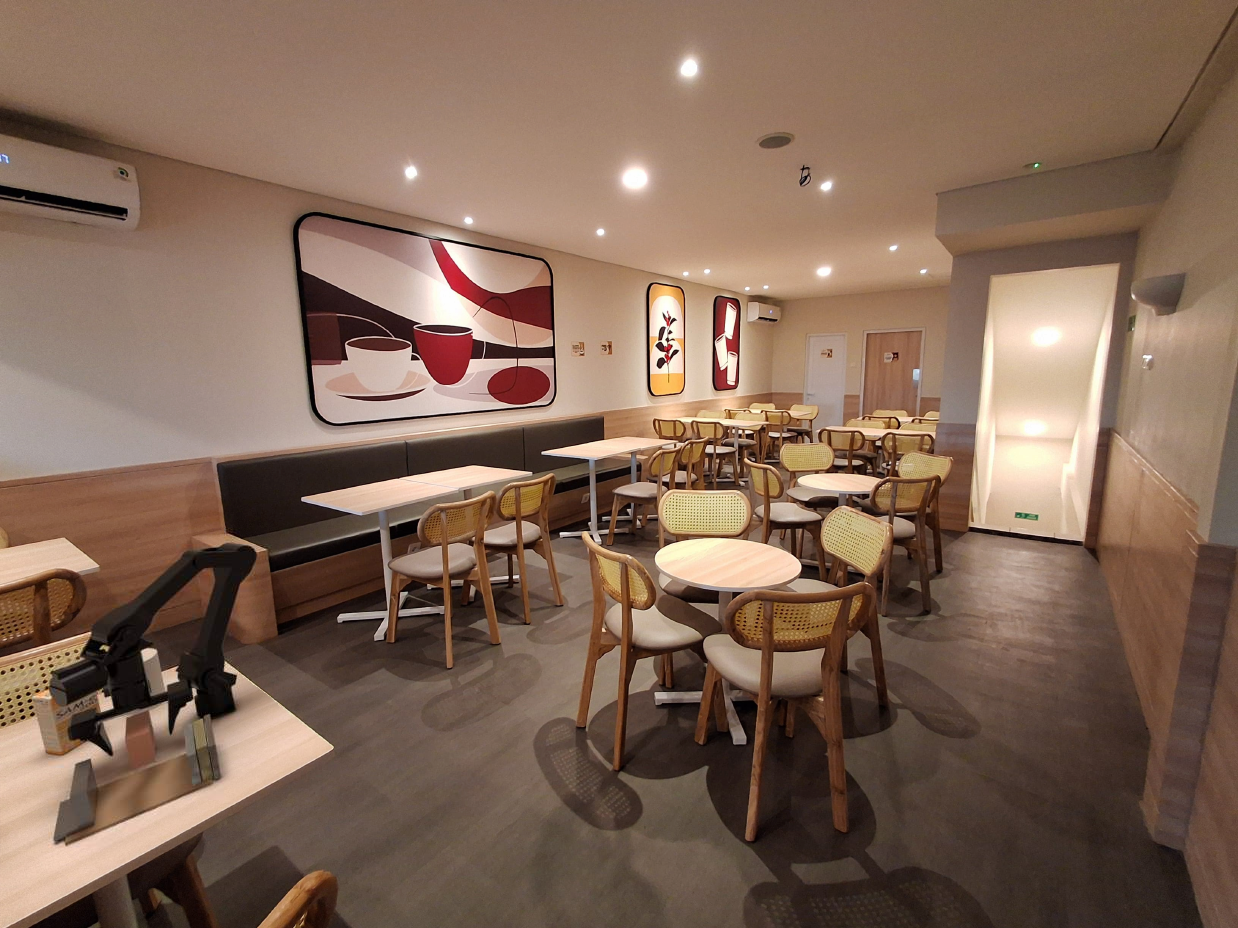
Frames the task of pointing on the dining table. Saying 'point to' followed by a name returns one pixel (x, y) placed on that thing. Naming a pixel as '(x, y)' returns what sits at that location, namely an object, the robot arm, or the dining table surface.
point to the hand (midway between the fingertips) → (142, 744)
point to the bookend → (78, 802)
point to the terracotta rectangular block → (140, 740)
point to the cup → (152, 675)
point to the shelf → (157, 782)
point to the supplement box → (59, 720)
